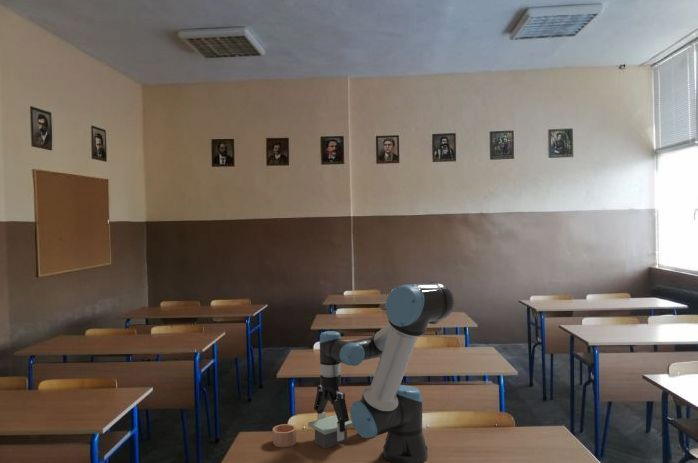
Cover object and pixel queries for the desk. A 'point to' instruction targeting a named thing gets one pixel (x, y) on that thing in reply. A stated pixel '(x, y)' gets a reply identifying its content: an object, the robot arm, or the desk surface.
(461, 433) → the desk surface
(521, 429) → the desk surface
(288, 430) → the pink ceramic pot
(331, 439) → the dark grey rectangular block
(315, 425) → the lid
